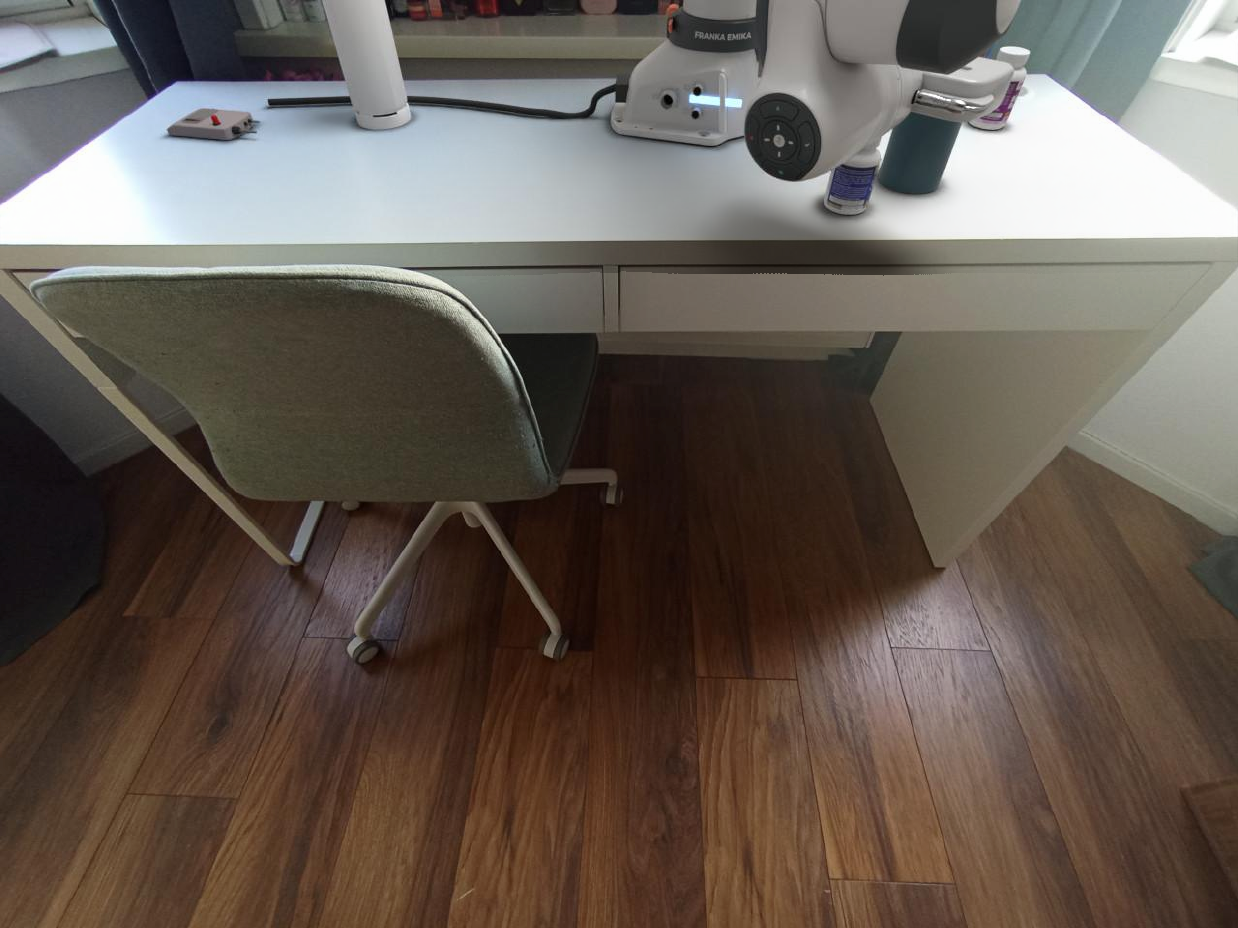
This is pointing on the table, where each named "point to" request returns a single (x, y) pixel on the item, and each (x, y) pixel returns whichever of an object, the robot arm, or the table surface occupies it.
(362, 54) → the bottle
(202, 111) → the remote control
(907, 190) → the sports bottle
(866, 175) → the pill bottle
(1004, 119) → the pill bottle
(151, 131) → the table surface
